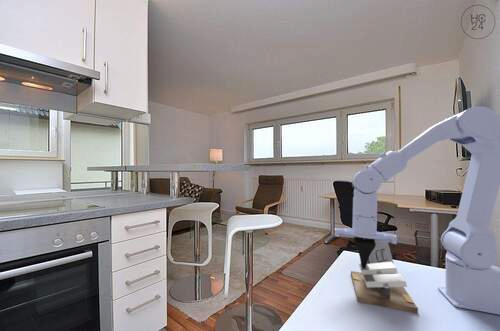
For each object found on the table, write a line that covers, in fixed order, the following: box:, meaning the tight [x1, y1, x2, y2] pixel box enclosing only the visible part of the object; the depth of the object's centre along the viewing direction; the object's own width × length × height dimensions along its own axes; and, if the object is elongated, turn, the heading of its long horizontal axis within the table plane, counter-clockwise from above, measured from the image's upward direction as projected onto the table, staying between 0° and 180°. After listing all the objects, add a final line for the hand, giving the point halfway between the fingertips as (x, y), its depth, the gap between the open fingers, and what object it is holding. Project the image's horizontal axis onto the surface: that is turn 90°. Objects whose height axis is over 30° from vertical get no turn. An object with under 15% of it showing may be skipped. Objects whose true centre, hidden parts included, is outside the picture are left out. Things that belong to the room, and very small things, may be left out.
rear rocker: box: [359, 262, 398, 275], centre depth 56 cm, size 8×4×2 cm, turn 71°
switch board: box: [350, 270, 419, 314], centre depth 53 cm, size 12×13×3 cm
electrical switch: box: [367, 241, 395, 265], centre depth 66 cm, size 9×5×9 cm, turn 116°
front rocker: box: [363, 273, 408, 288], centre depth 50 cm, size 8×4×2 cm, turn 71°
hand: (363, 266), depth 57 cm, fingers closed, pressing on rear rocker
